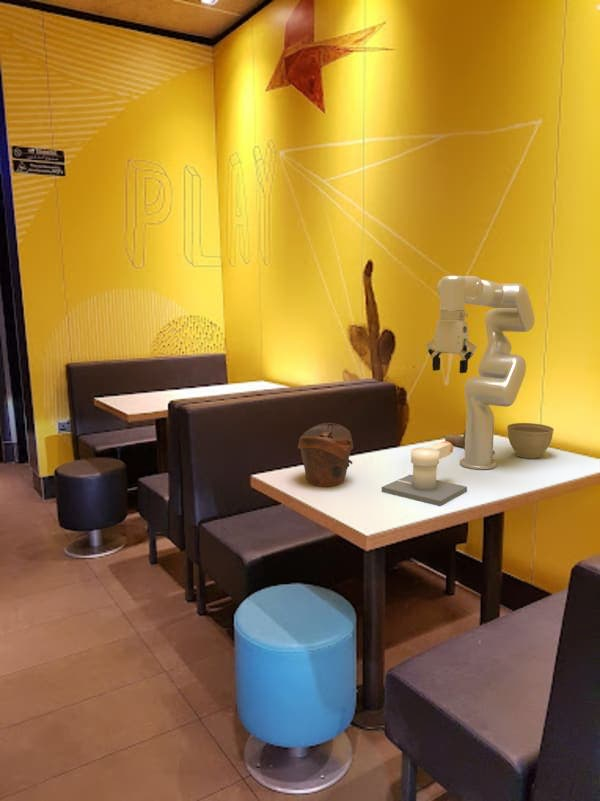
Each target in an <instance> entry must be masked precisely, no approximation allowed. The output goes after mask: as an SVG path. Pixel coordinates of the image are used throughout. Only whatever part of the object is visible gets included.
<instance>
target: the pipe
mask: <svg viewBox="0 0 600 801" xmlns="http://www.w3.org/2000/svg"><path fill="white" fill-rule="evenodd" d="M463 431H464V432H463V435H460V434H459V435H457V434H451V433H450V434H448V433H447V434H445V435H444V441H448V442H450V443H451V444H452V445H453V446H454V445H455V446H459V447H461V448H462V447H463V448H465V432H466V428H465V430H463Z"/></svg>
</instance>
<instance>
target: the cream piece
mask: <svg viewBox="0 0 600 801" xmlns="http://www.w3.org/2000/svg"><path fill="white" fill-rule="evenodd" d="M410 451H411V452H410V463H411V464H412V465H413V464H415V465H419V466H435V465H437V466H439V464H440V460H442V459H444V458H446V457H448V456H451V454H452V453H453V452H454V444H451V443H450V442H448V441H445V440H444V441H440V442H438V443H437V442H436V443H433V444H432V445H429V446H427V447H424V446H423V447H422V446H421V447H415V448H412V449H411V450H410Z"/></svg>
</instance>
